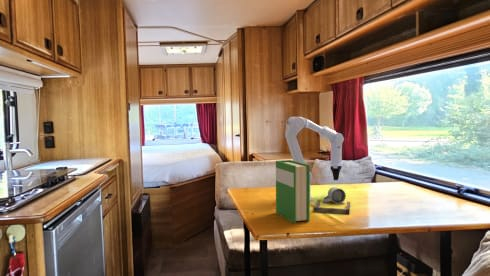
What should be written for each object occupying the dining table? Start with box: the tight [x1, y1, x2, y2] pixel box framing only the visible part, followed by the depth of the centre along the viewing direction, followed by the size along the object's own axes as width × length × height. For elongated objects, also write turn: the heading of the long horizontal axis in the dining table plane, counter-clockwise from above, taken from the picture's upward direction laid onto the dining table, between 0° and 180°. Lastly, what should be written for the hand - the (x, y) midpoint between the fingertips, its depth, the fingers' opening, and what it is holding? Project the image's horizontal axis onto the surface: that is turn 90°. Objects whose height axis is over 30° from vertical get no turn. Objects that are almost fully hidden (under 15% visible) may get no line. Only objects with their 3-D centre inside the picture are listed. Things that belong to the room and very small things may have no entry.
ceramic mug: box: [322, 186, 347, 205], centre depth 186 cm, size 11×8×8 cm
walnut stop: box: [313, 199, 351, 215], centre depth 173 cm, size 16×15×2 cm
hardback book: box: [275, 159, 311, 224], centre depth 159 cm, size 18×7×24 cm, turn 20°
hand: (336, 179), depth 197 cm, fingers open, 2 cm apart
